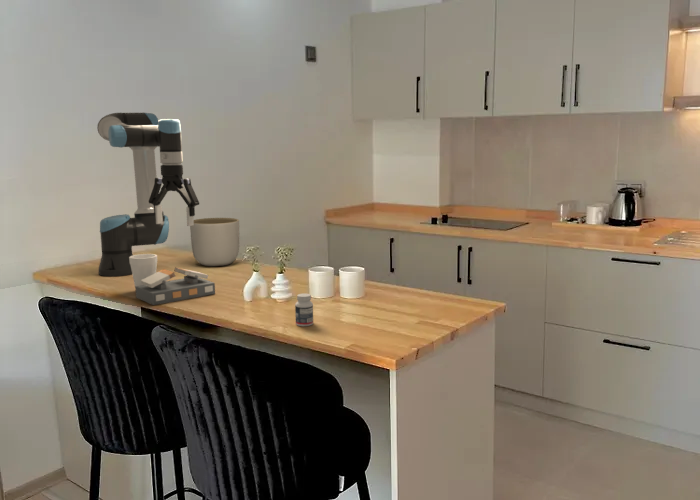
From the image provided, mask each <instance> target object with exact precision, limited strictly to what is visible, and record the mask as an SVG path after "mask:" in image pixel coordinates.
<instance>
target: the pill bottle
mask: <svg viewBox="0 0 700 500" xmlns="http://www.w3.org/2000/svg"><path fill="white" fill-rule="evenodd" d="M296 296H297V297H296V300H297V301H296V302H295V307H294V308H295V309H294V311H295V326H298V327H309V326H312V325H313V324H314V303H313V302H312V296H311V294H310V293H298V294H297V295H296Z"/></svg>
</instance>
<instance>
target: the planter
mask: <svg viewBox="0 0 700 500" xmlns="http://www.w3.org/2000/svg"><path fill="white" fill-rule="evenodd" d="M189 230H190V242H191V251H192V256H193V257H194V259H195V261H196V262H197V263H198V264H200V265H201V266H206V267H223V266H228V265H231V264H233V262H234V261H236V259H237V258H238V256H239V253H240V219H238V218H232V217H208V218H207V217H206V218H205V217H204V218H196V219H194V225H192V226H189Z"/></svg>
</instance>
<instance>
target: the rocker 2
mask: <svg viewBox="0 0 700 500" xmlns="http://www.w3.org/2000/svg"><path fill="white" fill-rule="evenodd" d="M173 272H174V273H175V272H176V273H178V274H181V275H184V276H190V277H193V278H196V279H197V278H198V277H199V278H202V279H205V280H208V277H209V275H208V274H206V273H203V272H199V271H195V270H190V269H184V268H181V267H176V266H174V270H173Z"/></svg>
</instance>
